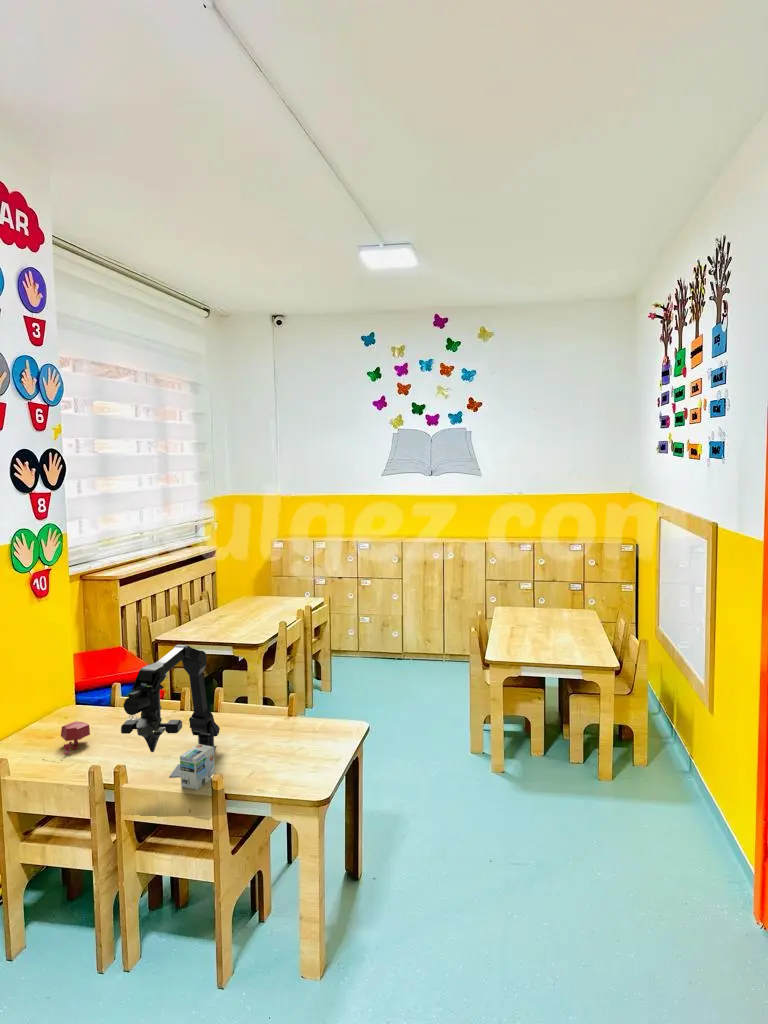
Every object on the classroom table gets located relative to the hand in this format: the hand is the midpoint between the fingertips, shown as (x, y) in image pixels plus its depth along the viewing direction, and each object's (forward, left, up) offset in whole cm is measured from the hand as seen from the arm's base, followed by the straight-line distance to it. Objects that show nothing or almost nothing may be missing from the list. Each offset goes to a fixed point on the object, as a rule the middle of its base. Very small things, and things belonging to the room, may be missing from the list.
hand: (152, 751), depth 244 cm
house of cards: (-62, -28, -13) cm, 69 cm away
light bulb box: (-3, +14, -12) cm, 19 cm away
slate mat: (-13, +13, -12) cm, 22 cm away
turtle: (-33, -42, -13) cm, 55 cm away
